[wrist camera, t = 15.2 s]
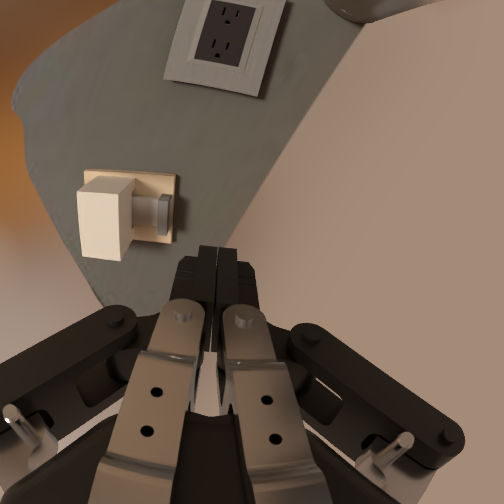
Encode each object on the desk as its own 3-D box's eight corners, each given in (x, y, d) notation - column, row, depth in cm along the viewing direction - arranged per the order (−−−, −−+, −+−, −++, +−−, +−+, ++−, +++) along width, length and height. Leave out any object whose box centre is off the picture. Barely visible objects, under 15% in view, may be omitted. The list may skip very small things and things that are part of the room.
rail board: (87, 168, 33) (75, 176, 30) (175, 174, 35) (170, 182, 32) (90, 231, 38) (81, 243, 35) (172, 239, 39) (167, 252, 36)
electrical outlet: (255, 96, 31) (257, 96, 29) (166, 79, 30) (162, 78, 28) (284, 0, 25) (287, -5, 23) (195, -17, 23) (193, -24, 21)
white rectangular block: (134, 237, 38) (120, 262, 32) (100, 233, 37) (82, 257, 32) (135, 177, 34) (118, 194, 28) (98, 175, 33) (76, 191, 28)
